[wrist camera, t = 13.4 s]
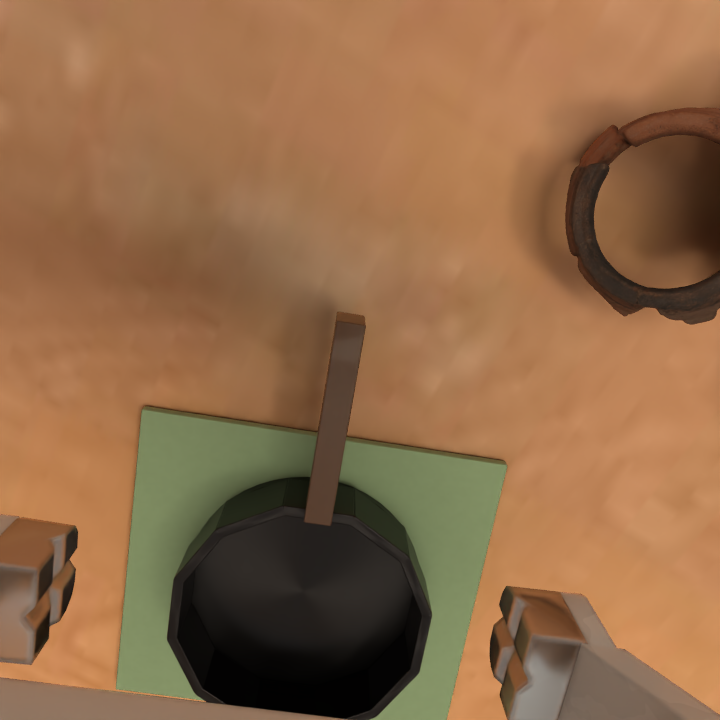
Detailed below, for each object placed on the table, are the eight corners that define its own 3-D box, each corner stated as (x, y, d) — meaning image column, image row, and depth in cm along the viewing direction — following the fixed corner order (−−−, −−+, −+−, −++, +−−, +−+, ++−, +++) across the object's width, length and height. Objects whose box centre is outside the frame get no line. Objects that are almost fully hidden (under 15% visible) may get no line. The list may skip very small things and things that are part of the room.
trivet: (119, 681, 36) (115, 689, 35) (145, 405, 32) (141, 409, 32) (442, 723, 37) (444, 731, 37) (505, 460, 33) (507, 465, 33)
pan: (175, 667, 35) (152, 729, 31) (221, 284, 30) (201, 298, 26) (397, 696, 36) (403, 761, 32) (477, 326, 31) (497, 346, 27)
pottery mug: (698, 349, 32) (685, 382, 25) (548, 232, 35) (499, 231, 28) (917, 133, 27) (978, 98, 20) (722, 13, 30) (715, -55, 23)
